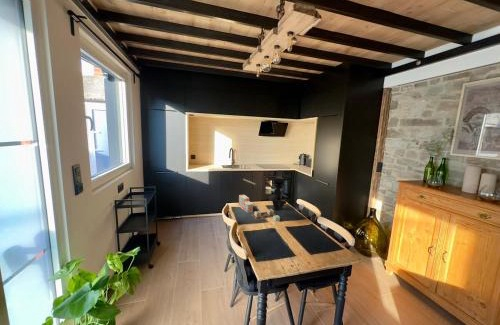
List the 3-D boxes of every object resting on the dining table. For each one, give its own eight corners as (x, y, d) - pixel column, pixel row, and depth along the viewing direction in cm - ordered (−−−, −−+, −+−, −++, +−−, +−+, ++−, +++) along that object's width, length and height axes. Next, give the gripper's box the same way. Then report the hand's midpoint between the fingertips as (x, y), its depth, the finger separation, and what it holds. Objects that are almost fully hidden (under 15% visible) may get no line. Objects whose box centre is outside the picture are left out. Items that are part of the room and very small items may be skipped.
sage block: (276, 219, 184) (277, 215, 184) (279, 221, 180) (279, 217, 180) (272, 220, 182) (273, 215, 182) (275, 222, 178) (275, 217, 178)
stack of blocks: (253, 213, 196) (253, 201, 194) (247, 213, 194) (247, 201, 192) (243, 205, 215) (244, 194, 213) (238, 206, 212) (239, 194, 210)
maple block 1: (258, 215, 189) (258, 210, 188) (260, 217, 185) (261, 212, 184) (254, 216, 187) (254, 211, 186) (256, 217, 183) (256, 213, 182)
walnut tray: (270, 212, 199) (270, 210, 199) (276, 217, 189) (276, 214, 189) (250, 215, 189) (251, 213, 189) (256, 220, 180) (256, 218, 179)
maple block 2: (270, 213, 195) (271, 208, 194) (273, 215, 191) (273, 210, 191) (266, 213, 193) (267, 209, 192) (269, 215, 189) (269, 211, 189)
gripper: (265, 189, 182) (264, 205, 184) (276, 196, 165) (275, 213, 168) (275, 188, 187) (274, 204, 189) (287, 194, 170) (285, 212, 173)
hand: (276, 208), depth 180 cm, fingers open, 9 cm apart
